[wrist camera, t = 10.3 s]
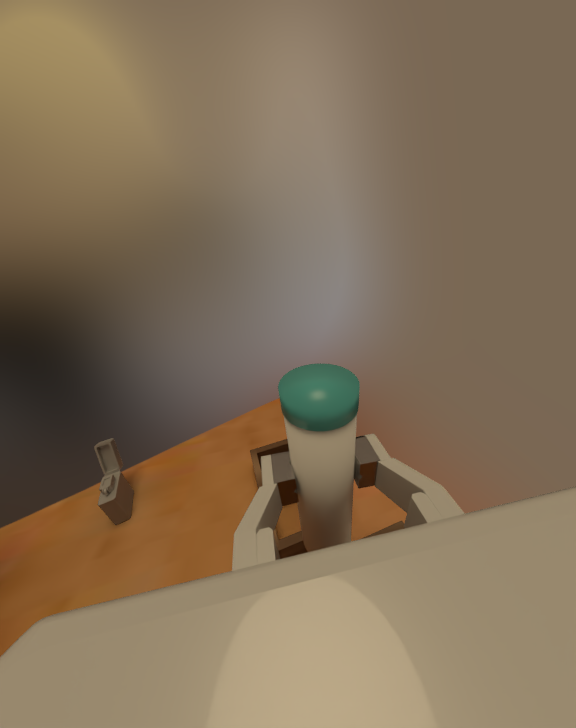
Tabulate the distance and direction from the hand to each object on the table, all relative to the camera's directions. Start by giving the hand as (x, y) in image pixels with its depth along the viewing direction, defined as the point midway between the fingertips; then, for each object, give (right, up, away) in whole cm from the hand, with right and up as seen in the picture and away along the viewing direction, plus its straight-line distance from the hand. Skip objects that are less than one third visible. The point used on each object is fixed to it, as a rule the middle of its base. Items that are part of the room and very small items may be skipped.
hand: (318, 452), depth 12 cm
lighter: (-23, -14, +19) cm, 33 cm away
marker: (+1, -8, +3) cm, 9 cm away
